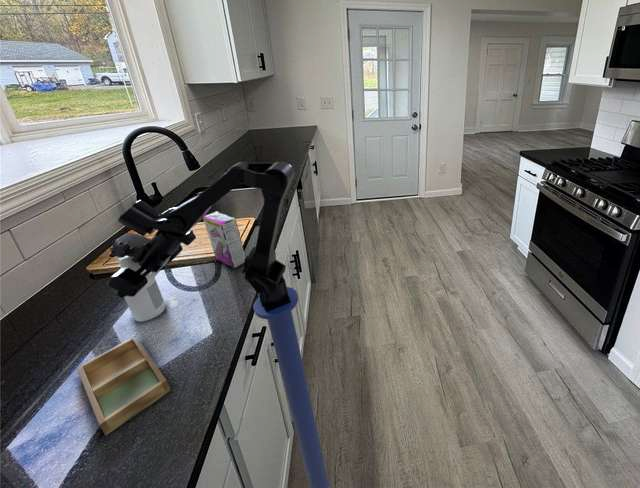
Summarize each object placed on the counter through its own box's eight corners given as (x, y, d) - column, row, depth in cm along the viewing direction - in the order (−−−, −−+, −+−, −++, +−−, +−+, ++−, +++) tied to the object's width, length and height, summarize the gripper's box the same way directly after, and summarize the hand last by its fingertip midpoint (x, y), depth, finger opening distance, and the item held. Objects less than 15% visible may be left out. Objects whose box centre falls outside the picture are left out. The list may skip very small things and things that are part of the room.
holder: (139, 344, 74) (135, 335, 72) (171, 390, 62) (166, 380, 61) (82, 377, 66) (76, 367, 65) (105, 435, 55) (99, 425, 54)
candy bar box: (214, 260, 106) (201, 216, 100) (229, 252, 110) (217, 210, 104) (233, 269, 100) (220, 224, 94) (248, 261, 104) (236, 217, 98)
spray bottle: (171, 307, 85) (149, 250, 78) (143, 325, 79) (117, 265, 73) (156, 300, 88) (134, 245, 81) (128, 317, 82) (102, 259, 75)
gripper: (157, 208, 83) (129, 247, 86) (99, 246, 66) (66, 293, 69) (196, 232, 86) (167, 269, 90) (150, 274, 69) (116, 317, 72)
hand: (133, 284), depth 80 cm, fingers open, 8 cm apart
